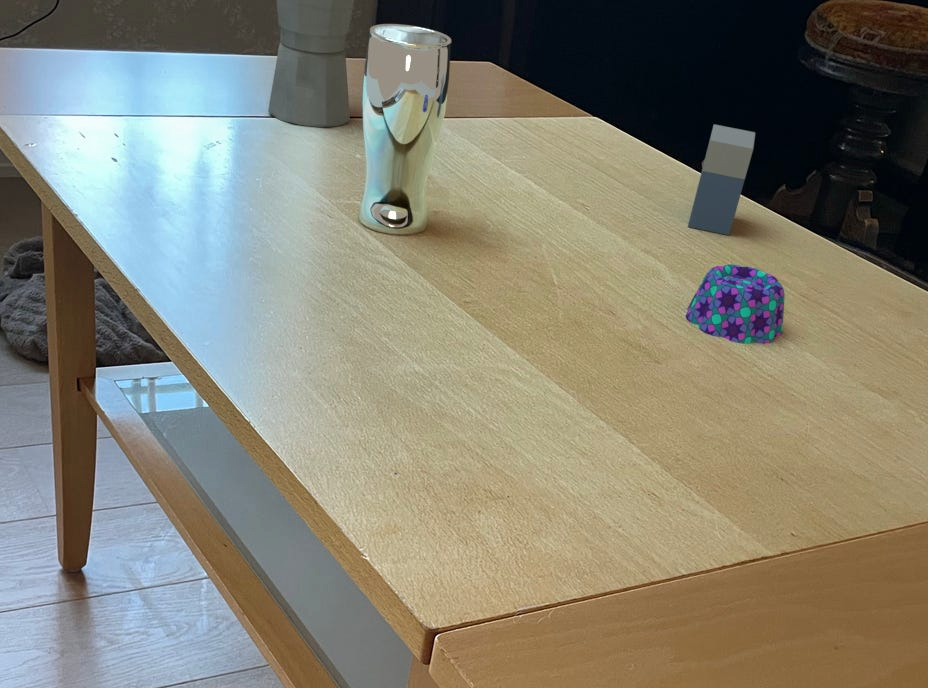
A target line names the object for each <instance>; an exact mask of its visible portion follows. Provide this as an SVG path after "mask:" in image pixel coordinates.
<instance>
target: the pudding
mask: <svg viewBox="0 0 928 688" xmlns="http://www.w3.org/2000/svg"><path fill="white" fill-rule="evenodd" d="M785 298H786V294H785V289H784V286H783V285H782V284H781V283H780V282H779V280H778V278H777V277H775V276H774V275H772V274H770V273H766V272H763V271H761V270H760V269H759V268H756V267H752V266H741V265H738V264H731V263H729V264H725V265H723V266H721V265H717V266H713V267H712V268H710V269H709V270H708V271H707V273H706V274H705V275H704V277H703V278H702V280H701V283H700V285H699V287H698V288H697V290H696V292H695V294H694V295H693V298H692V299H691V301H690V303H689V304H688V307H687V308H686V310H687V312H686V314H685V319H686V321H687V322H689V323H691V324H692V325H695V326H698V330H699V331H701V332H703V333H704V334H706V335H709V336H712V337H716V338H717V337H718V338H724V339H726V340H727V341H729V342H733V343H737V344H745V345H748V344H751V343H758V344H762V345H764V344H771V343H773V342H775V338H778V337H781V336H782V335H783V331H784V330H783V329H784V316H785V315H784V314H785V313H784V311H785Z"/></svg>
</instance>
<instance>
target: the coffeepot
mask: <svg viewBox="0 0 928 688" xmlns="http://www.w3.org/2000/svg"><path fill="white" fill-rule="evenodd" d="M354 4H355V0H276V10H277V21H278V22H277V23H278V26H279V27H280V36H279V37H280V39H279V40H280V42H279V45H278V50H277V57H276V63H275V68H274V74H273V79H272V86H271V92H270V97H269V103H268V110H267V112H268V113H269V114H270V115H271V116H272V117H274V118H276V119H278V120H280V121H283V122H286V123H290V124H292V125H298V126H306V127H313V128H314V127H315V128H331V127H338V126H343V125H345V124H347V123H349V122H350V121H351V116H350V115H351V113H350V100H349V99H350V98H349V84H348V71H347V57H346V55H347V54H346V39H347V37H346V36H347V35H348V34H349V32H350V31H349V30H350V26H351V20H352V15H353V9H354Z"/></svg>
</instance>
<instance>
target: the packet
mask: <svg viewBox="0 0 928 688" xmlns="http://www.w3.org/2000/svg"><path fill="white" fill-rule="evenodd" d="M709 137H710V138H709V141H708V145H707V149H706V154H705V157H704V161H703V164H702V168H701V172H700V176H699V177H700V178H699V179H698V180H699V181H698V184H697V189H696V192H695V196H694V200H693V204H692V208H691V212H690V216H689V220H688V223H687V224H688V225H687V227H688V228H691V229H696V230H701V231H706V232H711V233H714V234H715V233H716V234H720V235H726V236H730V234H731V231H732V226H733V224H734V220H735V217H736V212H737V209H738V206H739V202H740V199H741V194H742V192H743V188H744V185H745V181H746V177H747V172H748V169H749V167H750V162H751V159H752V155H753V152H754V149H755V148H754V147H755V139H756V132H755V131H750V130H745V129H740V128H734V127H729V126H726V125H725V126H724V125H721V124H720V125H719V124H713V126H712V129H711V133H710V136H709Z"/></svg>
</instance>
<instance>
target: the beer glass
mask: <svg viewBox="0 0 928 688" xmlns="http://www.w3.org/2000/svg"><path fill="white" fill-rule="evenodd" d="M368 35H369V36H368V42H367V49H366V56H365V62H364V69H363V80H362V91H361V92H362V93H361V95H362V96H361V112H362V131H363V142H364V143H363V144H364V154H365V155H364V156H365V180H364V188H363V193H362V196H361V201H360V204H359V208H358V212H357V219H358V220H357V221H359V223H360V224H361V225H363V226H364V227H365V228H368V229H370V230H373V231H375V232H378V233H382V234H389V235H396V236H397V235H398V236H399V235H400V236H405V235H406V236H407V235H415V234H419V233H422V232H424V231H425V230H426V229H427V227H428V207H427V205H428V204H427V191H428V181H429V175H430V172H431V167H432V163H433V160H434V156H435V153H436V149H437V146H438V142H439V139H440V135H441V132H442V129H443V124H444V119H445V115H446V109H447V102H448V96H449V85H450V69H451V50H452V49H451V47H452V39H451V37H450V36H448V35H447V34H444V33H442V32H440V31H437V30H434V29H430V28H427V27H422V26H416V25H410V24H399V23H382V24H376V25H373V26H371V27H370V28H369V34H368Z"/></svg>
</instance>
